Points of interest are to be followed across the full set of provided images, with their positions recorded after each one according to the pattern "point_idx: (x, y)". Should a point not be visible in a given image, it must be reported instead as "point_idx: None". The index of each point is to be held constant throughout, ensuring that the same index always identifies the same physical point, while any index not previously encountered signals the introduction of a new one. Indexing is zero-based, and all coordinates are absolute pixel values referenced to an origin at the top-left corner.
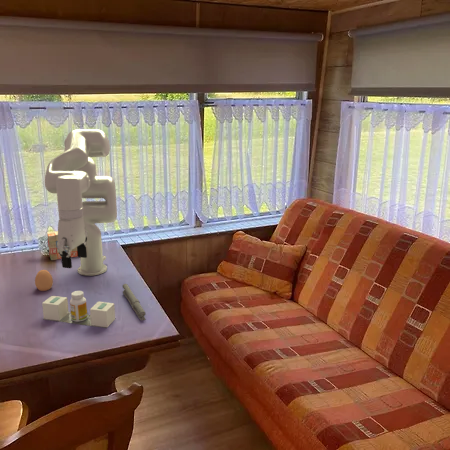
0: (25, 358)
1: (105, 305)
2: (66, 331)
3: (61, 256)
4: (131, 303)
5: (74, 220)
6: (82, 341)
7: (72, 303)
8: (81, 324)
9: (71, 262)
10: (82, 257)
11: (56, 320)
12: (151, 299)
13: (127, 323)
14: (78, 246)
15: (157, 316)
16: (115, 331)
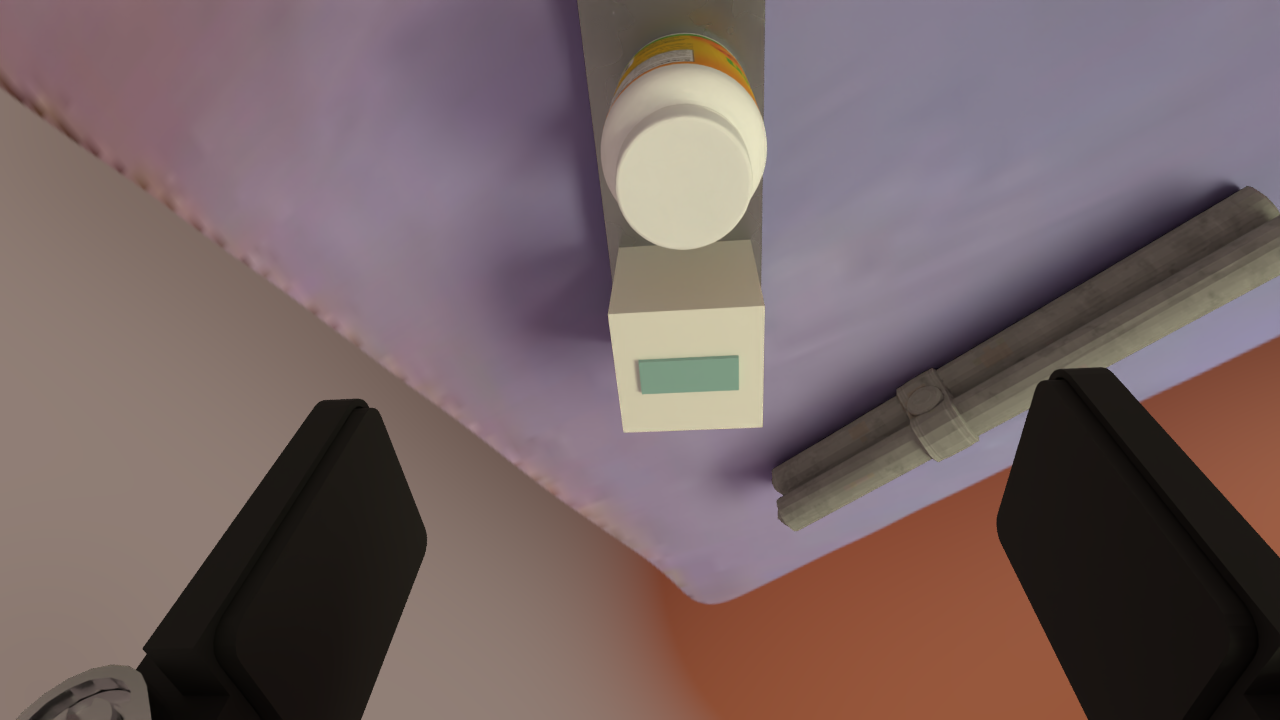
0: (86, 36)
1: (708, 389)
2: (510, 87)
3: (76, 709)
4: (989, 361)
5: None
6: (457, 271)
7: (601, 144)
8: (600, 177)
9: (379, 644)
10: (1020, 462)
11: None
12: None
13: None
14: (1246, 676)
15: (872, 505)
16: None
